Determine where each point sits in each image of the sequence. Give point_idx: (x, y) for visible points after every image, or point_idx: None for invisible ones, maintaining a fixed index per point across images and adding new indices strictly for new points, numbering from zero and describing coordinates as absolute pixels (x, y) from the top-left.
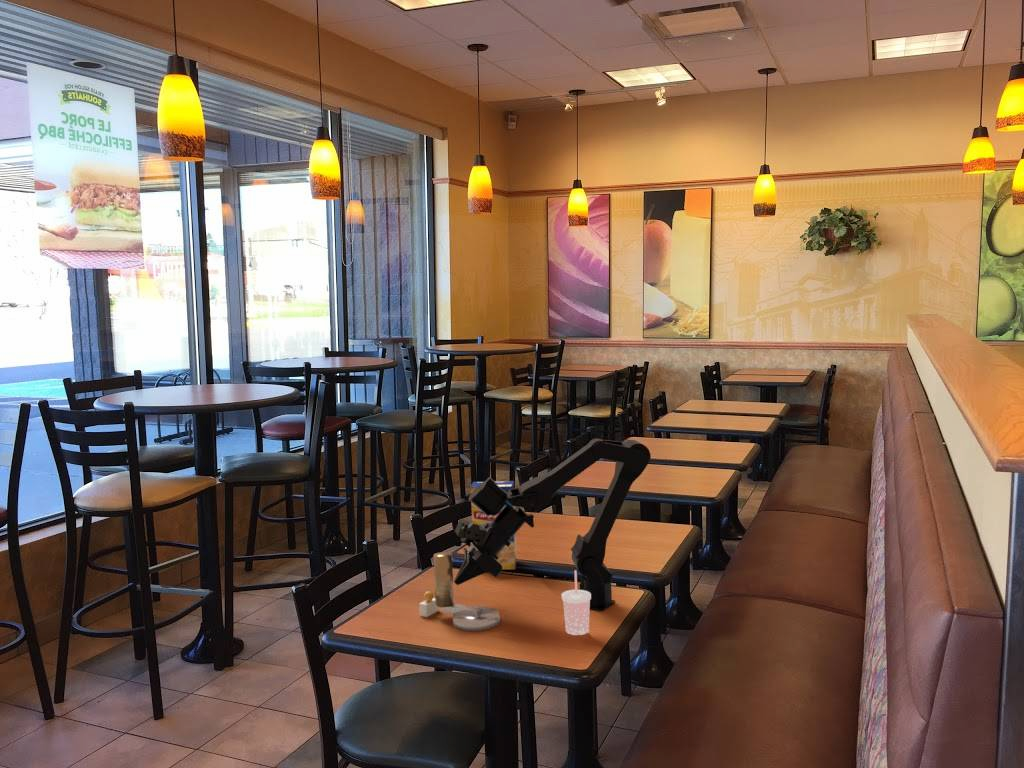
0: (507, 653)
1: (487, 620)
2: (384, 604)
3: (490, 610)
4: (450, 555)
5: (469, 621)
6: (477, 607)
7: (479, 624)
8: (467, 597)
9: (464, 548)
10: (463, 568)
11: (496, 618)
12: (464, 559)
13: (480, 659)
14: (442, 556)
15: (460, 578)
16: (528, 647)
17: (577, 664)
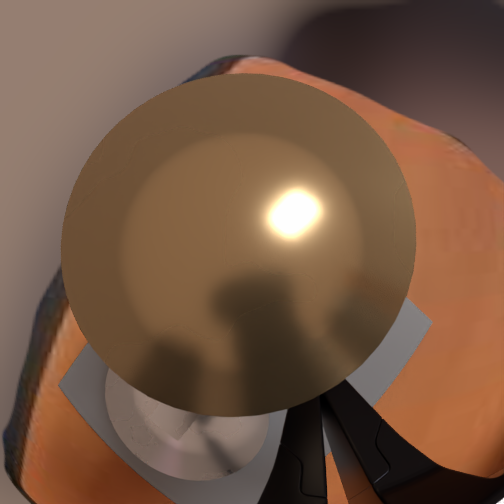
0: (48, 422)
1: (126, 433)
2: (414, 132)
3: (217, 462)
4: (138, 376)
5: (122, 379)
6: (258, 426)
7: (108, 404)
8: (460, 359)
9: (498, 497)
10: (299, 453)
11: (144, 461)
12: (424, 464)
13: (28, 362)
14: (110, 208)
15: None
16: (73, 468)
17: (31, 490)
